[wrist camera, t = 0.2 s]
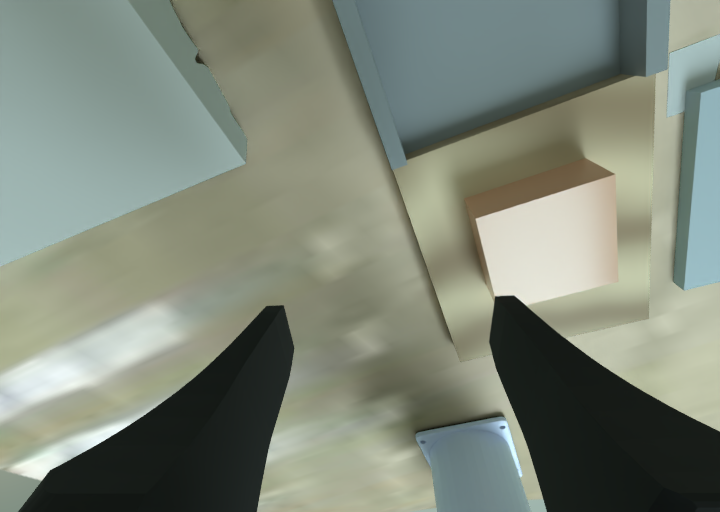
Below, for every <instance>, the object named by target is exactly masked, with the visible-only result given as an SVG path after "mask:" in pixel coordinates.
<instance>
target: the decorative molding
mask: <svg viewBox="0 0 720 512" xmlns="http://www.w3.org/2000/svg"><path fill="white" fill-rule="evenodd" d="M197 53H198V48H197V47H196V46H195V45H194V43H193V42H192V41H191V39H190V38H189V36H188V35H187V33H186V32H185V30H184V29H183V27H182V25H181V23H180V21H179V19H178V17H177V15H176V13H175V11H174V9H173V7H172V5H171V3H170V0H0V266H2V265H5V264H7V263H9V262H12V261H14V260H17V259H19V258H21V257H24V256H26V255H29V254H31V253H33V252H36V251H38V250H41V249H43V248H45V247H48V246H50V245H53V244H55V243H57V242H60V241H62V240H64V239H67V238H69V237H72V236H74V235H76V234H79V233H81V232H84V231H86V230H88V229H91V228H93V227H96V226H98V225H100V224H103V223H105V222H107V221H110V220H112V219H115V218H117V217H119V216H122V215H124V214H127V213H129V212H131V211H134V210H136V209H139V208H141V207H143V206H146V205H148V204H150V203H153V202H155V201H158V200H160V199H162V198H165V197H167V196H170V195H172V194H174V193H177V192H179V191H182V190H184V189H186V188H189V187H191V186H194V185H196V184H198V183H201V182H203V181H205V180H208V179H210V178H213V177H215V176H217V175H220V174H222V173H225V172H227V171H229V170H232V169H234V168H237V167H239V166H241V165H244V164H246V153H247V138H246V136H245V134H244V132H243V131H242V129H241V128H240V126H239V125H238V123H237V122H236V120H235V119H234V117H233V116H232V114H231V113H230V107H229V105H228V103H227V101H226V99H225V98H224V96H223V94H222V92H221V90H220V88H219V87H218V85H217V83H216V81H215V79H214V77H213V75H212V74H211V72H210V70H209V68H208V67H207V66H205V65H204V64H198V63H197V62H196V60H195V58H196V55H197Z"/></svg>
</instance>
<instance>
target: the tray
mask: <svg viewBox="0 0 720 512" xmlns="http://www.w3.org/2000/svg"><path fill="white" fill-rule="evenodd" d="M332 1H333V4H334V7H335V9H336V12H337V15H338V18H339V21H340V24H341V26H342V29H343V32H344V35H345V38H346V41H347V44H348V46H349V49H350V52H351V55H352V58H353V61H354V63H355V66H356V69H357V72H358V75H359V78H360V80H361V83H362V86H363V89H364V92H365V95H366V98H367V100H368V103H369V106H370V109H371V112H372V115H373V117H374V120H375V123H376V126H377V129H378V132H379V135H380V137H381V140H382V143H383V146H384V149H385V152H386V154H387V157H388V160H389V163H390V166H391V169H392V170H394V169H397V168H400V167H402V166H405V165H408V164H407V160H406V156H405V154H408V153H410V152H413V151H416V150H418V149H421V148H424V147H426V146H429V145H432V144H434V143H437V142H440V141H442V140H445V139H448V138H450V137H453V136H456V135H459V134H461V133H464V132H467V131H469V130H472V129H475V128H477V127H480V126H483V125H485V124H488V123H491V122H493V121H496V120H499V119H501V118H504V117H507V116H509V115H512V114H515V113H517V112H520V111H523V110H525V109H528V108H531V107H533V106H536V105H539V104H541V103H544V102H547V101H549V100H552V99H555V98H557V97H560V96H563V95H565V94H568V93H571V92H573V91H576V90H579V89H581V88H584V87H587V86H590V85H592V84H595V83H598V82H600V81H603V80H606V79H608V78H611V77H614V76H616V75H619V74H625V75H633V76H641V77H648V76H650V75H653V74H656V73H659V72H661V71H664V70H667V66H668V42H669V19H670V0H332Z"/></svg>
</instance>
